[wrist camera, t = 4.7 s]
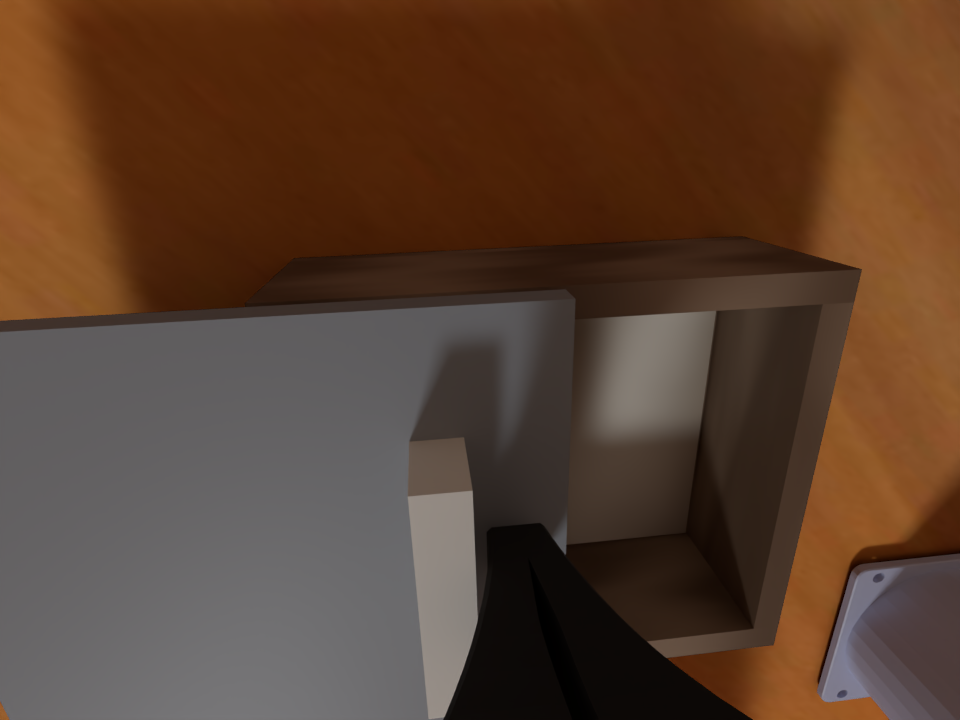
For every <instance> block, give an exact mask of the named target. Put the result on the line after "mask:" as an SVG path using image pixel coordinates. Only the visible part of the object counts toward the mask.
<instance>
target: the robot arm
mask: <svg viewBox="0 0 960 720" xmlns="http://www.w3.org/2000/svg"><path fill="white" fill-rule="evenodd" d="M486 533H487V575H486V582H485V588H484V594H483V599H482V604H481V608H480V612H479V617H478V621H477V625H476V629H475V633H474V636H473V640H472V643H471V646H470V650H469V653H468V656H467V659H466V662H465V665H464V668H463V671H462V674H461V676H460V679H459V682H458V684H457V687H456V690H455V692H454V695H453V698H452V700H451V702H450V705H449V707H448V710H447V712H446V714H445V717H444V719H443V720H753V719H751V718H749V717H748V716H746V715H745V714H743V713H742V712H740V711H739V710H737V709H736V708H734V707H733V706H731V705H730V704H728V703H726V702H725V701H723V700H722V699H720V698H719V697H717V696H716V695H715V694H713V693H712V692H711V691H709V690H708V689H706V688H705V687H704V686H702V685H701V684H700V683H698V682H697V681H696V680H694V679H693V678H692V677H690V676H689V675H687V674H686V673H685V672H683V671H682V670H681V669H679V668H678V667H677V666H675V665H674V664H673V663H672V662H671V661H669V660H668V659H667V658H666V657H665V656H663V655H662V654H661V653H660V652H658V651H657V650H656V649H655V648H654V647H653V646H652V645H650V644H649V643H648V642H647V641H646V640H645V639H644V638H642V637H641V636H640V635H639V634H638V633H637V632H636V631H635V630H634V629H633V628H632V627H631V626H629V625H628V624H627V623H626V622H625V621H624V620H623V619H622V618H621V617H620V616H619V615H618V614H617V613H616V612H615V611H614V610H613V609H612V608H611V607H610V606H609V604H608V603H607V602H606V601H605V600H604V599H603V598H602V597H601V596H600V595H599V594H598V593H597V592H596V591H595V589H594V588H593V587H592V586H591V585H590V584H589V583H588V581H587V580H586V579H585V578H584V577H583V576H582V574H581V573H580V572H579V571H578V570H577V569H576V567H575V566H574V565H573V564H572V563H571V561H570V560H569V559H568V557H567V556H566V555H565V554H564V552H563V551H562V550H561V548H560V547H559V546H558V544H557V543H556V542H555V540H554V539H553V538H552V536H551V535H550V533H549V532H548V531H547V529H546V528H545V526H544V525H542V524H541V523H533V524H522V525H512V526H501V527H491V528H490V529H489V530H488V531H487V532H486ZM817 693H818V694H819V696H820V697H821V698H822V700H823V701H826V702H834V701H841V700H849V699H857V698H864V697H872V699H873V700H874V701H875V702H876V704H877V705H878V706H879V707H880V708H881V710H882V711H883V712H884V713H885V714H886V716H887V717H888V718H889V719H890V720H960V554H950V555H941V556H932V557H923V558H913V559H904V560H895V561H886V562H876V563H867V564H861V565H858V566H856V567H855V568H854V569H853V570H852V572H851V574H850V578H849V581H848V585H847V588H846V592H845V595H844V599H843V602H842V606H841V609H840V612H839V616H838V619H837V623H836V626H835V630H834V633H833V637H832V640H831V644H830V647H829V651H828V654H827V658H826V661H825V665H824V668H823V672H822V675H821V679H820V682H819V685H818V689H817Z"/></svg>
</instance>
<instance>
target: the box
mask: <svg viewBox="0 0 960 720" xmlns="http://www.w3.org/2000/svg"><path fill="white" fill-rule="evenodd" d="M861 270H862V269H859V268H855V267H851V266H848V265H844V264H841V263H837V262H833V261H830V260H826V259H822V258H819V257H815V256H812V255H808V254H804V253H801V252H797V251H793V250H790V249H786V248H783V247H779V246H775V245H772V244H768V243H764V242H761V241H757V240H754V239H750V238H746V237H722V238H702V239H681V240H660V241H640V242H619V243H599V244H578V245H557V246H537V247H516V248H495V249H475V250H454V251H434V252H413V253H392V254H372V255H351V256H330V257H310V258H294V259H293V260H292V261H291V262H290V263H288V264H287V265H286V266H285V267H284V268H283V269H282V270H281V271H280V272H279V273H277V274H276V275H275V276H274V277H273V278H272V279H271V280H270V281H269V282H268V283H267V284H265V285H264V286H263V287H262V288H261V289H260V290H259V291H258V292H257V293H256V294H254V295H253V296H252V297H251V298H250V299H249V300H248V301H247V302H246V303H245V307H258V306H275V305H293V304H311V303H329V302H347V301H365V300H383V299H400V298H418V297H436V296H454V295H472V294H490V293H508V292H525V291H543V290H561V289H566V290H567V291H568V292H569V293H570V294H571V295H572V296H573V297H574V298H575V299H576V300H575V327H574V353H573V380H572V406H571V433H570V459H569V486H568V512H567V538H566V556H567V557H568V559H569V560H570V561H571V563H572V564H573V565H574V566H575V567H576V569H577V570H578V571H579V572H580V573H581V574H582V576H583V577H584V578H585V579H586V580H587V581H588V583H589V584H590V585H591V586H592V587H593V588H594V589H595V591H596V592H597V593H598V594H599V595H600V596H601V597H602V598H603V599H604V600H605V601H606V602H607V603H608V604H609V606H610V607H611V608H612V609H613V610H614V611H615V612H616V613H617V614H618V615H619V616H620V617H621V618H622V619H623V620H624V621H625V622H626V623H627V624H628V625H629V626H631V627H632V628H633V629H634V630H635V631H636V632H637V633H638V634H639V635H640V636H641V637H642V638H644V639H645V640H646V641H647V642H648V643H649V644H650V645H652V646H653V647H654V648H655V649H656V650H657V651H658V652H660V653H661V654H662V655H663V656H665V657H666V658H670V657H678V656H687V655H695V654H703V653H711V652H720V651H728V650H736V649H745V648H753V647H761V646H769V645H774V641H775V637H776V632H777V628H778V624H779V620H780V615H781V611H782V607H783V603H784V598H785V594H786V590H787V586H788V581H789V577H790V573H791V569H792V564H793V560H794V556H795V551H796V547H797V543H798V539H799V534H800V530H801V526H802V522H803V517H804V513H805V509H806V505H807V500H808V496H809V492H810V488H811V483H812V479H813V475H814V471H815V466H816V462H817V458H818V454H819V449H820V445H821V441H822V437H823V432H824V428H825V424H826V419H827V415H828V411H829V407H830V402H831V398H832V394H833V390H834V385H835V381H836V377H837V373H838V368H839V364H840V360H841V356H842V351H843V347H844V343H845V339H846V334H847V330H848V326H849V322H850V317H851V313H852V309H853V304H854V300H855V296H856V292H857V287H858V283H859V279H860V275H861Z"/></svg>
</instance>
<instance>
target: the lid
mask: <svg viewBox="0 0 960 720" xmlns="http://www.w3.org/2000/svg"><path fill="white" fill-rule="evenodd" d="M575 300H576V299H575V298H574V297H573V296H572V295H571V294H570V293H569V292H568V291H567V290H566V289H561V290H543V291H525V292H508V293H490V294H472V295H454V296H436V297H418V298H400V299H383V300H365V301H347V302H329V303H311V304H293V305H275V306H258V307H240V308H222V309H204V310H186V311H168V312H150V313H133V314H115V315H97V316H79V317H61V318H43V319H25V320H8V321H0V702H1V704H2V705H3V707H4V709H5V711H6V713H7V715H8V717H9V719H10V720H443V719H444V717H445V714H446V712H447V710H448V707H449V705H450V702H451V700H452V698H453V695H454V692H455V690H456V687H457V684H458V682H459V679H460V676H461V674H462V671H463V668H464V665H465V662H466V659H467V656H468V653H469V650H470V646H471V643H472V640H473V636H474V633H475V629H476V625H477V621H478V617H479V612H480V608H481V604H482V599H483V594H484V588H485V582H486V575H487V533H486V532H487V531H488V530H489V529H490V528H491V527H501V526H512V525H522V524H533V523H541V524H542V525H544V526H545V528H546V529H547V531H548V532H549V533H550V535H551V536H552V538H553V539H554V540H555V542H556V543H557V544H558V546H559V547H560V548H561V550H562V551H563V552H564V554H565V555H566V538H567V512H568V486H569V459H570V433H571V406H572V380H573V353H574V327H575Z"/></svg>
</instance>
